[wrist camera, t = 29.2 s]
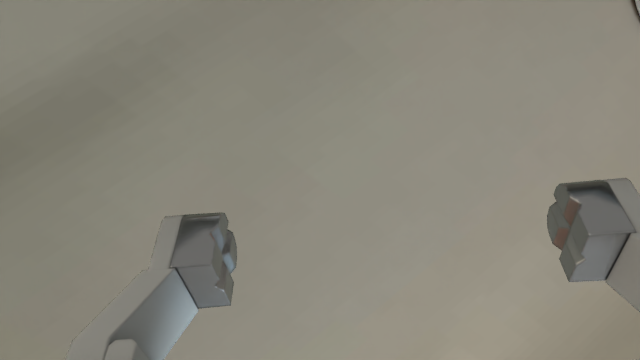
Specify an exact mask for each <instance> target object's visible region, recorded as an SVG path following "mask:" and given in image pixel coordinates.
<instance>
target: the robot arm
mask: <svg viewBox="0 0 640 360" xmlns="http://www.w3.org/2000/svg"><path fill="white" fill-rule="evenodd" d="M635 3H636V6H637V9H638V12H639V15H640V0H635ZM554 197H555V199H556V201H557V202H555V203H554V204H553V205H551V206H550V207H549V211H548V215H547V227H548V232H549V236H550V238H551V241H552V243H553V244H554V245H555V246H556V247H558V248H559V249H561V250H562V253H561V255H560V258H559V260H560V262H561V265H562V267H563V269H564V272H565V274H566V276H567V279H568V281H569V282H579V281H602V280H606V283H607V284H608V285H609V286H611V287H612V288H613V289H614V290H615V291H616V292H617V293H619V294H620V295H621V296H622V297H623V298H624V299H625V300H627V301H628V302H629V303H630V304H631V305H632V306H633V307H635V308H636V309H637V310H638V311H639V312H640V195H639V194H638V192H637V190H636V189H635V187H634V186H633V184H632V183H631V181H630V180H628V179H627V178H619V179H607V180H593V181H583V182H572V183H562V184H559V185H558V186H557V187H556V189H555V192H554ZM227 228H228V219H227V217H226V215H225V213H207V214H190V215H177V216H165V217H164V219H163V220H162V221H161V224H160V228H159V231H158V235H157V239H156V242H155V246H154V249H153V253H152V256H151V260H150V264H149V267H148V270H142V271H141V272H140V273H139V274H138V275H137V276H136V277H135V278H134V279H133V280H132V281H131V282H130V283H129V284H128V285H127V286H126V287H125V288H124V289H123V290H122V291H121V292H120V293H119V294H118V295H117V296H116V297H115V298H114V299H113V300H112V301H111V302H110V303H109V304H108V305H107V306H106V307H105V308H104V309H103V310H102V311H101V312H100V313H99V314H98V315H97V316H96V317H95V318H94V319H93V320H92V321H91V322H90V323H89V324H88V325H87V326H86V327H85V328H84V329H83V330H82V331H81V332H80V333H79V334H78V335H77V336H76V337H75V338H74V339H73V340H72V342H71V344H70V347H69V350H68V353H67V355H66V358H65V360H164V358H165V357H166V355H167V354H168V353H169V351H170V350H171V348H172V347H173V346H174V344H175V343H176V341H177V340H178V339H179V337H180V336H181V334H182V333H183V332H184V330H185V329H186V327H187V326H188V325H189V323H190V322H191V321H192V319H193V318H194V316H195V315H196V314H197V312H198V311H199V310H198V309H199V308H210V307H220V306H230V305H231V301H232V293H233V286H234V282H233V279H232V277H231V273H232V272H233V270H234V269H235V268H236V262H237V246H236V241H235V237H234V235H233V232H231V231H230V230H228V229H227Z"/></svg>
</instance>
